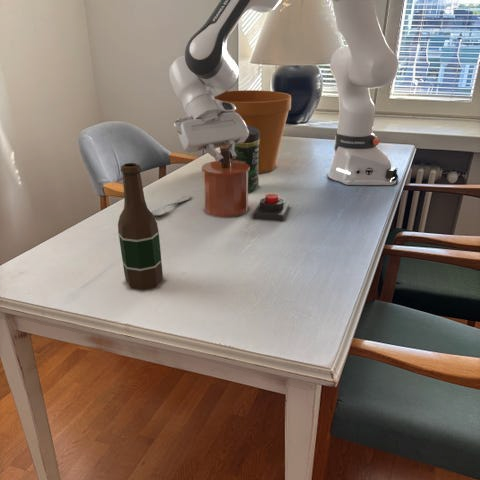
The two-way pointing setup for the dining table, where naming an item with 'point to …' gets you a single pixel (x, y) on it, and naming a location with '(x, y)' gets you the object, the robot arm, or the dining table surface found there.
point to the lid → (225, 166)
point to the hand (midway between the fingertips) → (227, 159)
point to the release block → (271, 210)
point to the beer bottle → (138, 234)
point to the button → (272, 198)
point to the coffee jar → (250, 156)
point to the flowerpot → (262, 119)
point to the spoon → (162, 210)
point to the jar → (226, 194)
